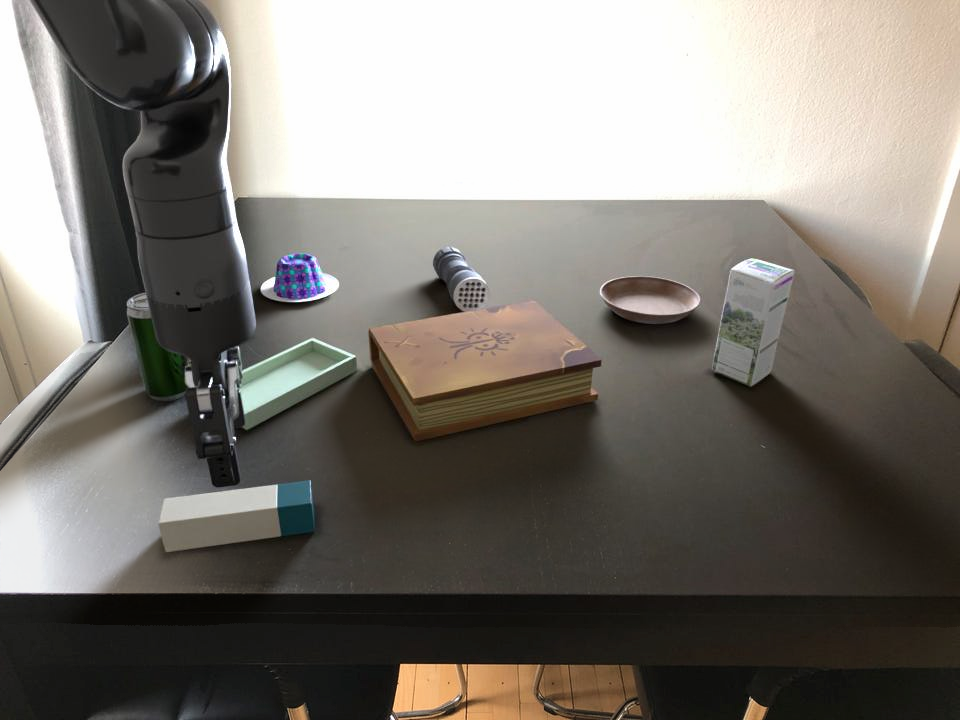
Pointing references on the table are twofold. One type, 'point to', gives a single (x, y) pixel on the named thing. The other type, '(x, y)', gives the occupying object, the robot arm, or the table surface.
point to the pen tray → (291, 378)
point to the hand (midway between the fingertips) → (230, 453)
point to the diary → (480, 368)
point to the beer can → (155, 355)
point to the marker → (236, 516)
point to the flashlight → (461, 280)
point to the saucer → (649, 299)
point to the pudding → (299, 280)
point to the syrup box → (751, 320)
